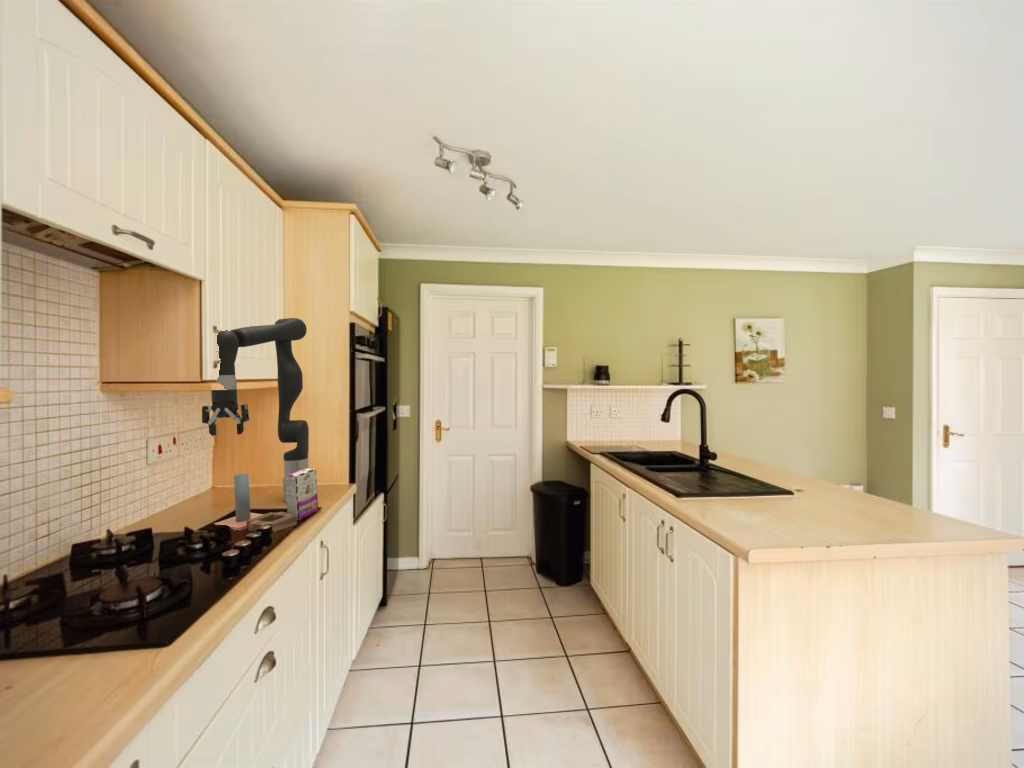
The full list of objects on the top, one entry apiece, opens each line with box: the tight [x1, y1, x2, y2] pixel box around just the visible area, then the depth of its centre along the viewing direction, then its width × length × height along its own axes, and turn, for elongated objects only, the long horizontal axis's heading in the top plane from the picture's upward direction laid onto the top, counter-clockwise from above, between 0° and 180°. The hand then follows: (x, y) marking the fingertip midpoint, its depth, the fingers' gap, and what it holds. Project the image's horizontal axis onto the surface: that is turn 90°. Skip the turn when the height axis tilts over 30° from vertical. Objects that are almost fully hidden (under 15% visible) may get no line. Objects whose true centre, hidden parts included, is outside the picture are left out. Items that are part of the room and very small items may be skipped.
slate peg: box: [233, 473, 251, 522], centre depth 157 cm, size 4×4×16 cm
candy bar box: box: [285, 467, 319, 521], centre depth 164 cm, size 11×5×16 cm, turn 168°
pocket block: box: [246, 511, 298, 533], centre depth 152 cm, size 12×12×3 cm
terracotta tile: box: [213, 512, 265, 532], centre depth 158 cm, size 13×13×1 cm
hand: (226, 434), depth 155 cm, fingers open, 8 cm apart
